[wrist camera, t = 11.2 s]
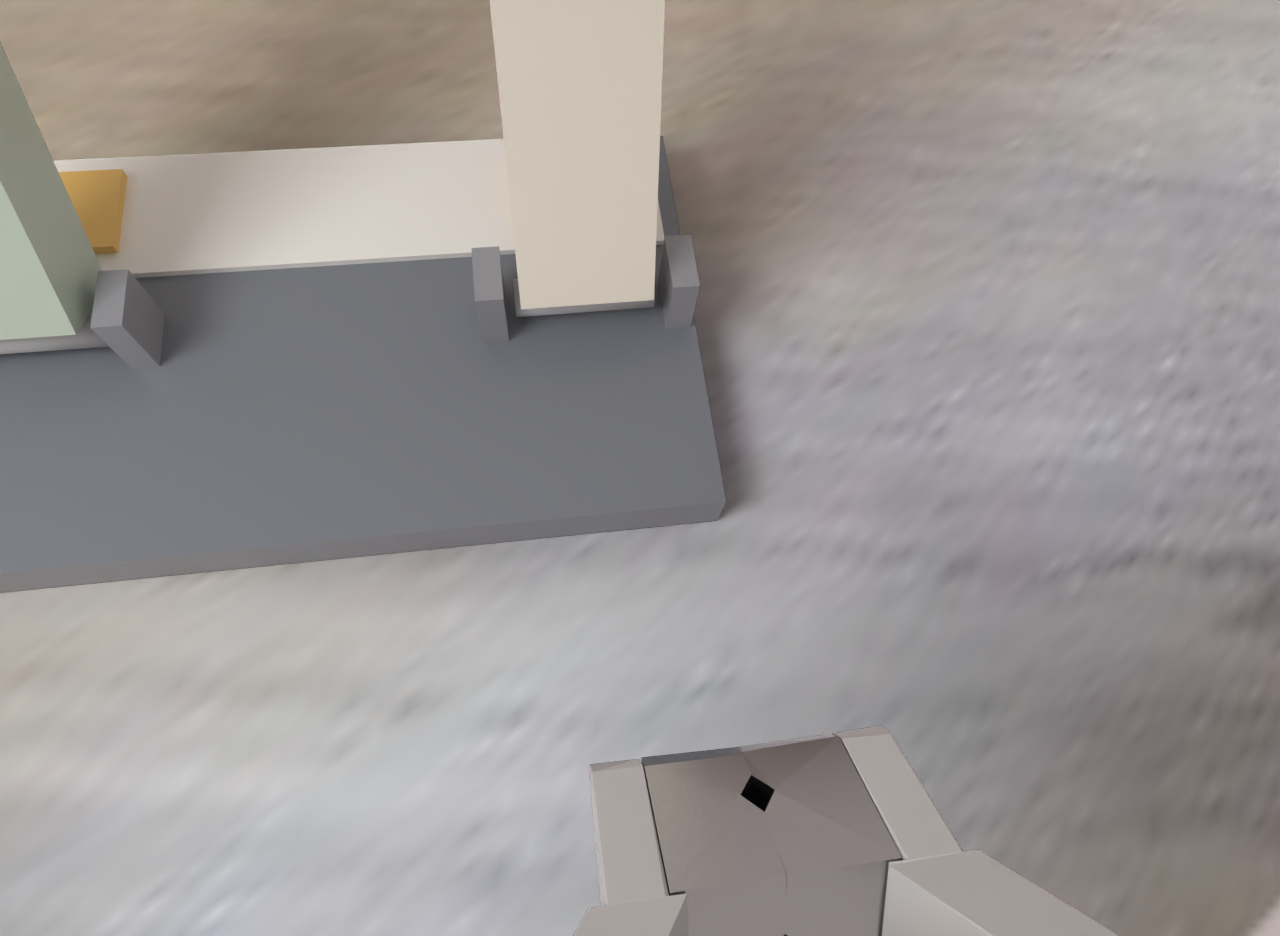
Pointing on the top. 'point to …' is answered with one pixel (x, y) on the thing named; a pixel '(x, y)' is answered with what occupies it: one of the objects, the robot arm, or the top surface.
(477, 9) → the top surface
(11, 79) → the bar
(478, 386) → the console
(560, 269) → the bar
